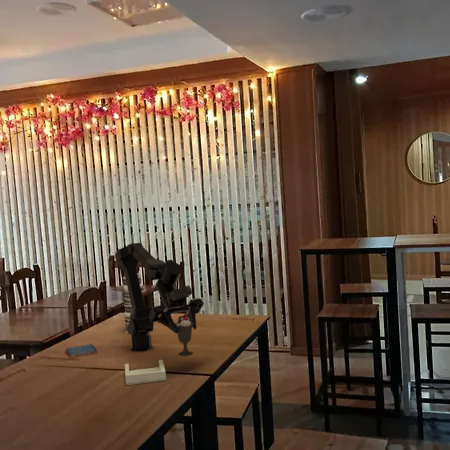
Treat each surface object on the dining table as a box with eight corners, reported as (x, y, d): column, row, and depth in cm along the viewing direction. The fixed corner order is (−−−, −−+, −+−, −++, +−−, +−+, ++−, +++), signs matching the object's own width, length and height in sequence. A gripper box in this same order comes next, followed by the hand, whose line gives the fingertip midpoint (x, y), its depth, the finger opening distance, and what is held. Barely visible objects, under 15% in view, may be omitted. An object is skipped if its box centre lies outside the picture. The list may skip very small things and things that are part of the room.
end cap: (125, 372, 189) (124, 364, 189) (162, 368, 191) (162, 359, 191) (126, 385, 177) (125, 375, 177) (166, 380, 179) (165, 371, 179)
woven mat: (64, 353, 219) (64, 347, 218) (92, 348, 223) (91, 343, 223) (69, 360, 209) (69, 354, 209) (98, 355, 214) (97, 349, 214)
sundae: (193, 357, 185) (190, 311, 184) (173, 356, 186) (170, 311, 185) (198, 351, 192) (195, 307, 190) (179, 350, 193) (176, 307, 192)
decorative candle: (150, 329, 246) (146, 271, 245) (138, 334, 238) (134, 275, 236) (133, 328, 250) (129, 271, 249) (120, 333, 242) (116, 275, 240)
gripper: (150, 282, 185) (168, 322, 177) (199, 274, 196) (218, 311, 187) (141, 302, 192) (158, 341, 184) (189, 294, 203) (207, 330, 194)
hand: (186, 330), depth 187 cm, fingers closed on sundae, 7 cm apart
